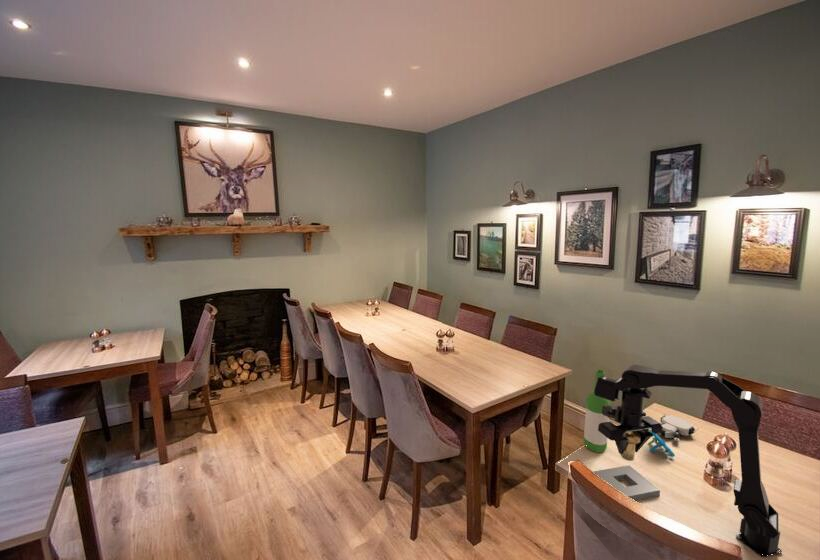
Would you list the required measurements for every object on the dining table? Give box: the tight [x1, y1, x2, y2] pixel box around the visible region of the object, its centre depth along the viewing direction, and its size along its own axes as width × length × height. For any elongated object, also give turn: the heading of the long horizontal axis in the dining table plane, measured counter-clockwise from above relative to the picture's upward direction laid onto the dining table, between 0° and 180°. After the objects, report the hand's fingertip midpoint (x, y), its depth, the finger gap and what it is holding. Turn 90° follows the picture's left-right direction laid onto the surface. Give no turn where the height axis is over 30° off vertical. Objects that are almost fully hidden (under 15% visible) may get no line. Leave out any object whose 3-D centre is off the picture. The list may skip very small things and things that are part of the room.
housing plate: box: [592, 464, 661, 502], centre depth 117 cm, size 12×14×2 cm
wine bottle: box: [583, 369, 611, 453], centre depth 135 cm, size 8×8×30 cm
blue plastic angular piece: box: [647, 429, 676, 457], centre depth 134 cm, size 11×6×10 cm
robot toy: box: [649, 412, 700, 442], centre depth 146 cm, size 12×4×15 cm
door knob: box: [620, 431, 641, 462], centre depth 115 cm, size 6×6×8 cm
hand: (628, 452), depth 115 cm, fingers closed on door knob, 5 cm apart
